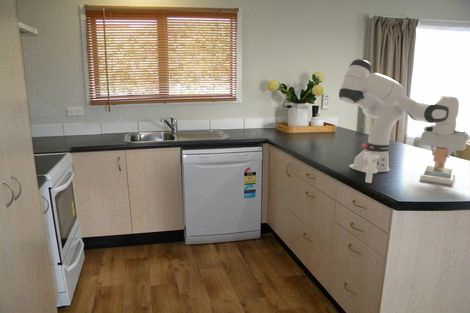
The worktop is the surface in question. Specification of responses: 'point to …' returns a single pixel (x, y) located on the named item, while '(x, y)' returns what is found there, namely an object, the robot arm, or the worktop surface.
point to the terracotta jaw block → (440, 154)
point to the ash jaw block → (439, 166)
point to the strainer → (370, 165)
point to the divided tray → (437, 175)
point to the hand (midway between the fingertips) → (440, 156)
